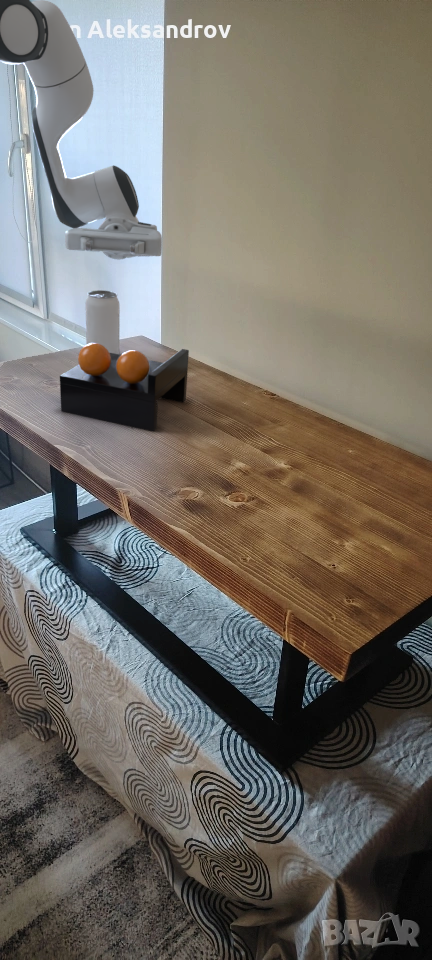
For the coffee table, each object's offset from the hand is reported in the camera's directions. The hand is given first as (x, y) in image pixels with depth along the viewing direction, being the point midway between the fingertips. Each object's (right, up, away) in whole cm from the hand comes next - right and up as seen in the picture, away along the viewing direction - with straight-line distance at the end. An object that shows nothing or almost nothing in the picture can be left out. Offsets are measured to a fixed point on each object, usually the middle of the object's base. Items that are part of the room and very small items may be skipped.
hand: (110, 248), depth 126 cm
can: (-1, -22, -1) cm, 22 cm away
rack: (+6, -34, -23) cm, 42 cm away
